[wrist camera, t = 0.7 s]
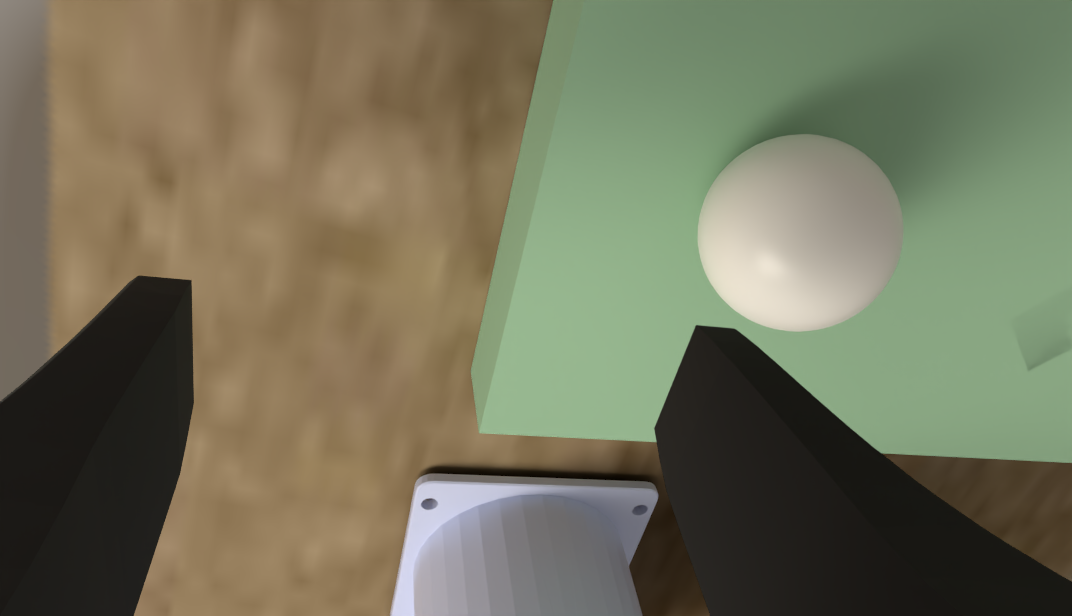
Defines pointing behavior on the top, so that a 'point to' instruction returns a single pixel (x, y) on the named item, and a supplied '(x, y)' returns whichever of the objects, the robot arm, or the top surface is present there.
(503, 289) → the putting mat
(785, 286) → the ball
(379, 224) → the top surface
